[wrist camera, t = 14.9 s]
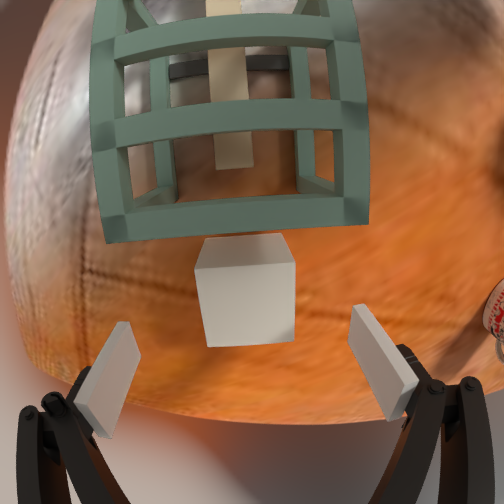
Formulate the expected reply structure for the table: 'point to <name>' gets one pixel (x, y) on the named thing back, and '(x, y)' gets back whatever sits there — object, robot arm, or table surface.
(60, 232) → the table surface
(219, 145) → the mallet
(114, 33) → the tube cage
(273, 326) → the block
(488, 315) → the teacup with lid
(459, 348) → the table surface
